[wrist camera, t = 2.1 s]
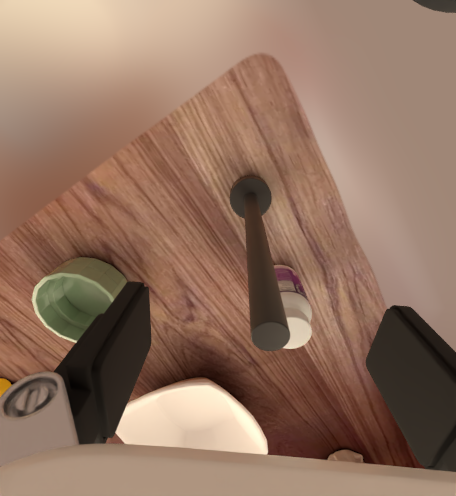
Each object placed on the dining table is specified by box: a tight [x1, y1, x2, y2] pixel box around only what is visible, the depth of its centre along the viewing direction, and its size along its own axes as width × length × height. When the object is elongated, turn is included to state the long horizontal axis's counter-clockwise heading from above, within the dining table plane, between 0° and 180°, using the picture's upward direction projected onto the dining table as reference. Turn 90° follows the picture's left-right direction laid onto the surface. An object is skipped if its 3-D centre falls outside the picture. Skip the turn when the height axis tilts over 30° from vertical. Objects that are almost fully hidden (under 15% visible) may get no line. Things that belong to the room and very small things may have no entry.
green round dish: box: [32, 257, 127, 343], centre depth 34 cm, size 11×11×4 cm
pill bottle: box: [274, 265, 312, 349], centre depth 29 cm, size 5×5×10 cm
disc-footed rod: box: [230, 175, 290, 351], centre depth 19 cm, size 4×4×22 cm
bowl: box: [116, 377, 268, 455], centre depth 42 cm, size 22×22×5 cm
